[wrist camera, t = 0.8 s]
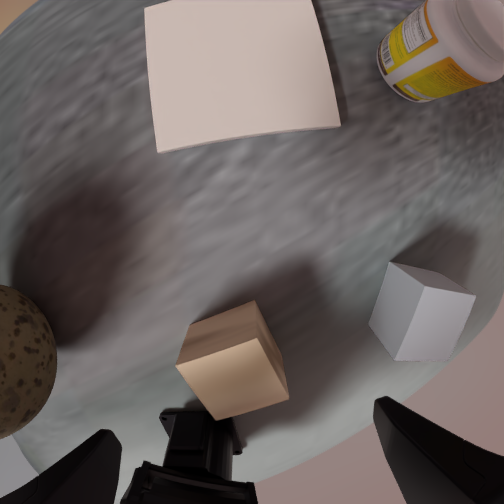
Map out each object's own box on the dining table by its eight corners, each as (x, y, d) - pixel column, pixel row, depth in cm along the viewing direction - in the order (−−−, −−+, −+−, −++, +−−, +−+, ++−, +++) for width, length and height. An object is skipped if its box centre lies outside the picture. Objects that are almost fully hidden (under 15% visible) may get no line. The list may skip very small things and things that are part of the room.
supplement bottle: (448, 91, 16) (544, 64, 6) (401, 115, 16) (507, 85, 7) (409, 29, 15) (488, -27, 5) (358, 47, 15) (433, -27, 5)
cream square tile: (336, 128, 17) (340, 125, 16) (162, 153, 17) (157, 152, 16) (303, -9, 14) (306, -16, 13) (148, 14, 14) (144, 8, 13)
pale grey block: (417, 328, 21) (447, 361, 16) (367, 323, 20) (393, 360, 16) (438, 272, 20) (476, 295, 15) (388, 261, 19) (424, 286, 14)
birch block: (281, 354, 21) (289, 399, 16) (221, 375, 21) (216, 420, 17) (254, 299, 20) (257, 337, 15) (189, 324, 20) (175, 365, 15)
